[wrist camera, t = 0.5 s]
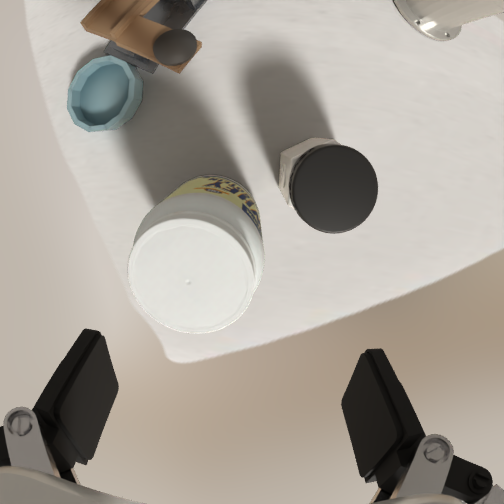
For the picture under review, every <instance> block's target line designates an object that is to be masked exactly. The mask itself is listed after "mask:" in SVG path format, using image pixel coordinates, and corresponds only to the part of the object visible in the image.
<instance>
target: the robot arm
mask: <svg viewBox="0 0 504 504" xmlns="http://www.w3.org/2000/svg"><path fill="white" fill-rule="evenodd" d="M394 2H395V4H396V6H397V8H398V10H399V11H400V13H401V14H402V15H403V17H404V18H405V19H406V20H407V21H408V22H409V23H410V24H411V25H412V26H413V27H414V28H415V29H416V30H418V31H419V32H420V33H422V34H424V35H425V36H427V37H429V38H432V39H434V40H438V41H447V40H451V39H454V38H455V37H457V36H458V35H459V33H460V31H461V27H462V25H463V24H466V23H469V22H473V21H476V20H479V19H482V18H486V17H489V16H492V15H496V14H500V13H503V12H504V0H394ZM118 387H119V386H118V382H117V378H116V375H115V372H114V369H113V366H112V362H111V359H110V355H109V351H108V348H107V344H106V340H105V337H104V336H102V335H101V333H100V332H99V331H96V330H91V329H84V330H83V331H82V333H81V334H80V336H79V337H78V338H77V340H76V341H75V343H74V344H73V346H72V347H71V349H70V350H69V352H68V353H67V355H66V356H65V358H64V359H63V360H62V362H61V363H60V364H59V366H58V368H57V369H56V371H55V372H54V374H53V376H52V377H51V379H50V381H49V382H48V384H47V385H46V387H45V389H44V390H43V392H42V394H41V395H40V397H39V399H38V401H37V402H36V404H35V406H34V408H33V409H32V410H30V409H28V408H26V407H17V408H14V409H12V410H11V411H10V412H8V414H7V415H6V416H5V419H4V426H1V427H0V504H145V503H140V502H136V501H132V500H128V499H124V498H120V497H117V496H113V495H109V494H106V493H103V492H100V491H96V490H93V489H90V488H87V487H84V486H81V485H80V482H79V480H78V478H77V476H76V473H75V471H74V469H73V467H74V465H75V462H78V463H81V464H84V465H87V462H88V460H91V459H92V458H93V456H94V453H95V451H96V448H97V445H98V442H99V439H100V437H101V434H102V431H103V429H104V426H105V423H106V421H107V418H108V416H109V413H110V410H111V408H112V405H113V403H114V400H115V398H116V395H117V393H118ZM341 405H342V409H343V413H344V417H345V420H346V424H347V428H348V431H349V435H350V439H351V442H352V446H353V450H354V454H355V458H356V462H357V466H358V470H359V474H360V476H361V477H364V478H365V482H366V483H369V482H374V481H377V484H378V487H379V488H378V490H377V492H376V494H375V495H374V497H373V499H372V500H371V502H370V504H504V490H503V489H502V488H501V487H499V486H498V485H497V484H496V485H495V486H493V485H492V483H493V481H492V476H491V474H490V472H489V471H488V470H487V469H485V468H483V467H481V466H478V465H476V464H473V463H471V462H469V461H466V460H464V459H462V458H459V457H457V456H455V455H453V453H454V450H453V446H452V444H451V443H450V441H449V440H448V439H447V438H445V437H444V436H441V435H438V434H431V435H428V436H426V435H425V433H424V431H423V428H422V426H421V424H420V422H419V420H418V417H417V415H416V413H415V411H414V409H413V407H412V405H411V403H410V400H409V398H408V396H407V394H406V392H405V390H404V388H403V386H402V385H401V383H400V382H399V380H398V378H397V376H396V374H395V372H394V370H393V368H392V366H391V365H390V363H389V361H388V359H387V357H386V355H385V353H384V351H383V350H382V349H367V350H366V351H365V353H362V354H361V356H360V358H359V360H358V363H357V365H356V368H355V370H354V373H353V375H352V377H351V380H350V382H349V384H348V387H347V389H346V391H345V393H344V396H343V398H342V404H341Z"/></svg>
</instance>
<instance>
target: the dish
mask: <svg viewBox="0 0 504 504" xmlns="http://www.w3.org/2000/svg"><path fill="white" fill-rule="evenodd" d="M142 92H143V80H142V78H141V77H140V75H139V73H138V71H137V69H136V67H135V66H133V65H131V64H129V63H127V62H125V61H123V60H121V59H118V58H116V57H114V56H111V55H110V56H105V57H100V58H95V59H92V60H91V61H90V62H89V63H87V64H86V65H85V66H84V67H82V68H81V69H80V70H79V71H78V72H77V73H76V75H75V77H74V79H73V81H72V83H71V85H70V87H69V89H68V101H67V109H68V112H69V114H70V116H71V118H72V120H73V122H74V124H75V125H77V126H79V127H81V128H82V129H84V130H86V131H88V132H96V131H107V130H116V129H118V128H119V127H120V126H122V125H123V124H125V123H126V122H127V121H129V120H130V119H132V117H133V116H134V114H135V112H136V110H137V109H138V107H139V105H140V103H141V102H142Z"/></svg>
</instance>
